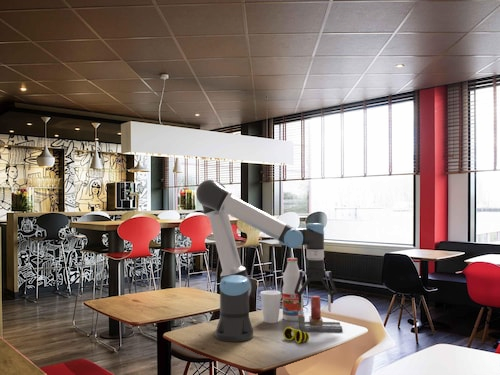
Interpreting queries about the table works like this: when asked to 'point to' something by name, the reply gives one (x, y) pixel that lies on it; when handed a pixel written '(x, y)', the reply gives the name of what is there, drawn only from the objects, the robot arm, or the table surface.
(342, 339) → the table surface
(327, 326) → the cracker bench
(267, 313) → the foam cup
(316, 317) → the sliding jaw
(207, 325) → the table surface
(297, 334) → the opera glasses
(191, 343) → the table surface
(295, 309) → the fruit juice
